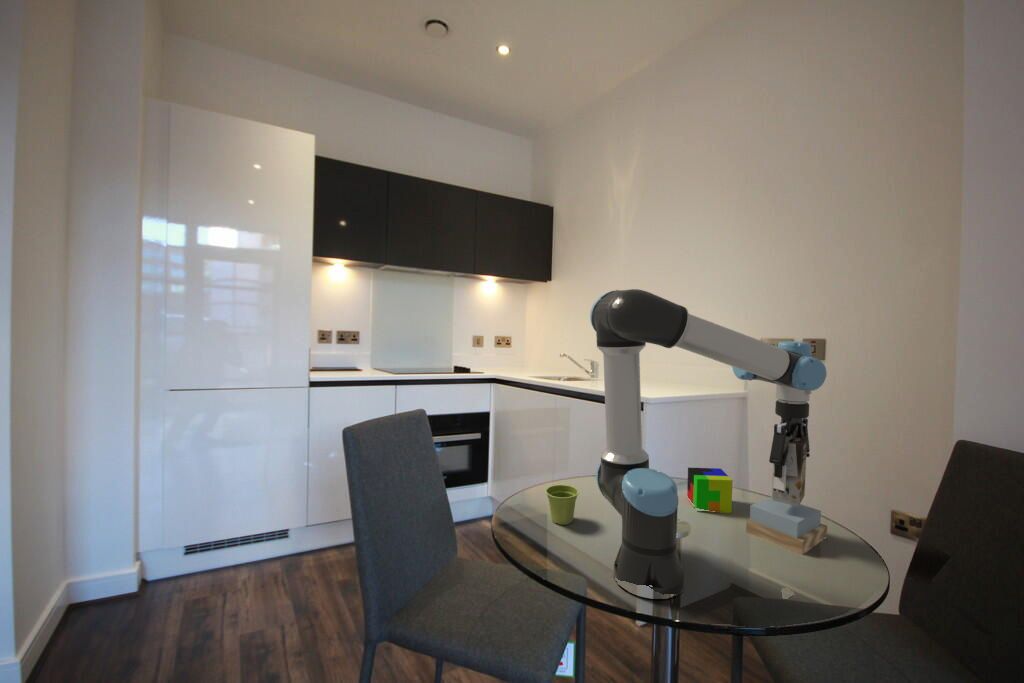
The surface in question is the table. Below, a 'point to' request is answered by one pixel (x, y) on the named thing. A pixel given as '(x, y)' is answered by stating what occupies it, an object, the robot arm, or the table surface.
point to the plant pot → (562, 503)
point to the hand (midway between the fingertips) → (788, 484)
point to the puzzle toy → (710, 489)
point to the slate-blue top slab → (785, 517)
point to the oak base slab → (788, 536)
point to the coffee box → (793, 473)
